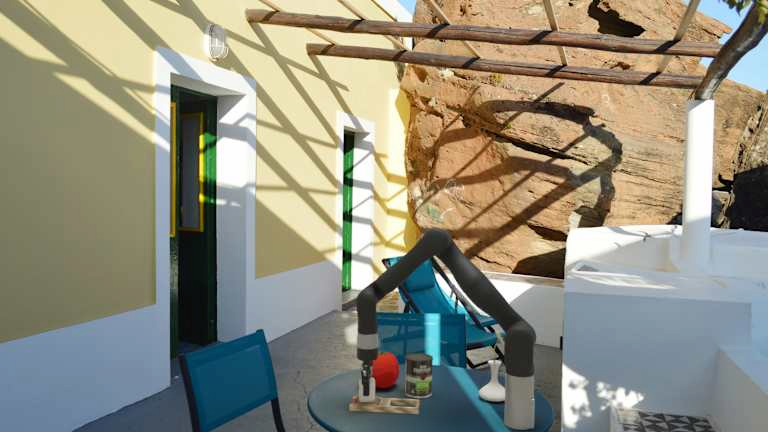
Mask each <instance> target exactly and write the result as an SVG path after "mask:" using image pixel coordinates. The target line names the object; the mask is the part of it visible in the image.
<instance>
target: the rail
mask: <svg viewBox="0 0 768 432" xmlns="http://www.w3.org/2000/svg"><path fill="white" fill-rule="evenodd" d="M348 406H349V408H348V409H349V411H350V412H366V413H367V412H368V413H369V412H370V413H385V414H387V413H388V414H408V415H410V414H411V415H419V414H420V406H421V400H420V399H418V398H412V399H411V398H393V397H392V398H391V397H381V396H375V401H373V402H366V403H364V402H360V401H359V395H356V396H353V397H352V400H351V403H350V404H349V405H348Z"/></svg>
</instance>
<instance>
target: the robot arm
mask: <svg viewBox="0 0 768 432" xmlns="http://www.w3.org/2000/svg"><path fill="white" fill-rule="evenodd" d="M434 257H436V258H437V259H439V260H440V262H441V263H442V264H443V265H444V267H446V268H447V269H448V271H449V272H450V273H451V275H452V277H453V279H454V280H455V282H456V284H457V285H458V287H459V288H460V289H461V291H462V292H463V293H464V294H465V296H466V297H467V298H468V300H469V301H470V302H471V303H472V304H474V306H475V307H477V309H479V310H480V311H482V312H483V313H485V314H486V315H488V316H489V317H490V318H491V319H493V320H494V321H495V322H496V323H497V325H499V327H500V328H501V329H502V330H503V332H504V333H505V336H504V340H503V341H504V347H503V348H504V351H503V352H504V353H503V356H504V357H503V358H504V360H503V361H504V366H505V372H504V373H505V375H504V381H505V382H504V388H505V400H504V415H503V416H504V417H503V419H504V420H503V422H504V425H505V426H506V427H508V428H510V429H513V430H521V431H522V430H529V429H535V406H536V404H535V403H536V401H535V397H534V396H535V394H534V393H535V392H534V391H535V365H534V345H535V344H536V341H537V333H536V330H535V329H534V327H533V326H532V325H531V324H530V323H529V322H528V321H527V320H526V319H525V318H523V317H522V316H521V315H520V314H519V313H518V312H517V310H515V309H514V307H512V306H511V304H509V302H508V300H507V299H506V298H505V297H504V296H503V294H502V293H501V292H500V290H498V289H497V287H496V286H495V285H494V284H493V283H492V281H491V280H490V279H489V278H488V277H487V276H486V275H485V274H484V273H483V272H482V270H480V268H478V266H477V265H475V263H473V262H472V260H470V259H469V258H468V257H467V256H466V255H465V254H464V253H463V252H462V250H461V249H460V247H459V246H458V245H457V244H456V242H455V241H454V239H453V238H452V236H451V235H450V233H449V232H448V231H447V230H445V229H444V228H440V227H431V228H429V229H428V230H426V231H425V232H424V234H423V235H422V236H421V237H420V239H419V240H418V241H417V242H416V244H415V245H413V247H411V249H410V250H409V251H407V252H406V253H405V254H404V255H403V256H402V257H401V258H400V259H398V260H397V261H396V262H394V263H393V264H392V265H391V266H390V267H388V268H386V269H385V271H384V272H382V273H380V275H379V276H378V277H377V278H376V279H375V280H374V281H372V282H371V283H370V284H368V285H367V286H366V287H364V288H363V289H362V290H361V291H360V292H358V294H357V296H356V303H355V304H356V315H357V335H356V359H357V360H359V361H362V362H361V365H360V373H361V378H362V385H363V396H369V395H370V379H371V378H372V376H373V366H374V363H373V361H374V360H377V359H378V352H379V332H378V331H379V330H378V327H379V325H378V317H377V304H379V302H380V301H381V300H383V299H384V298H385V297H386V296H387V295H389V294H391V293H393V292H394V291H395V290H396V289H397V288H399V287H400V286H401V285H402V284H403V283H404V282H406V280H408V279H409V278H410V277H411V275H413V274H414V272H415V271H416V270H417V269H418V268H419V267H420V266H422V265H423V264H424V263H426V262H427V261H428V260H430V259H431V258H434ZM369 375H370V376H369ZM364 380H367V382H364Z"/></svg>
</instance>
